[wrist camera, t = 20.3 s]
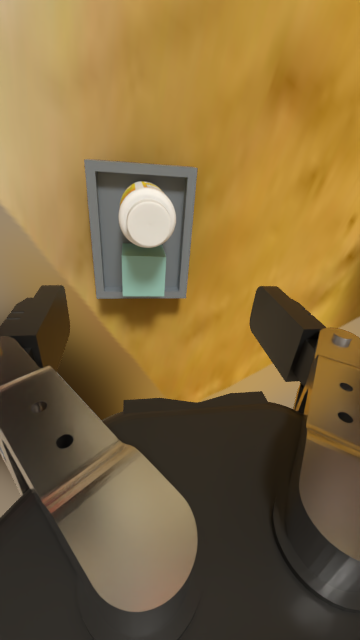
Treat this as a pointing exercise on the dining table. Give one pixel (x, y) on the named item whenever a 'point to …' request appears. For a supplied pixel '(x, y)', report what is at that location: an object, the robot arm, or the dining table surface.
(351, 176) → the dining table surface
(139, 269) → the teal block
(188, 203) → the tray
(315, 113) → the dining table surface
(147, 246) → the supplement bottle
